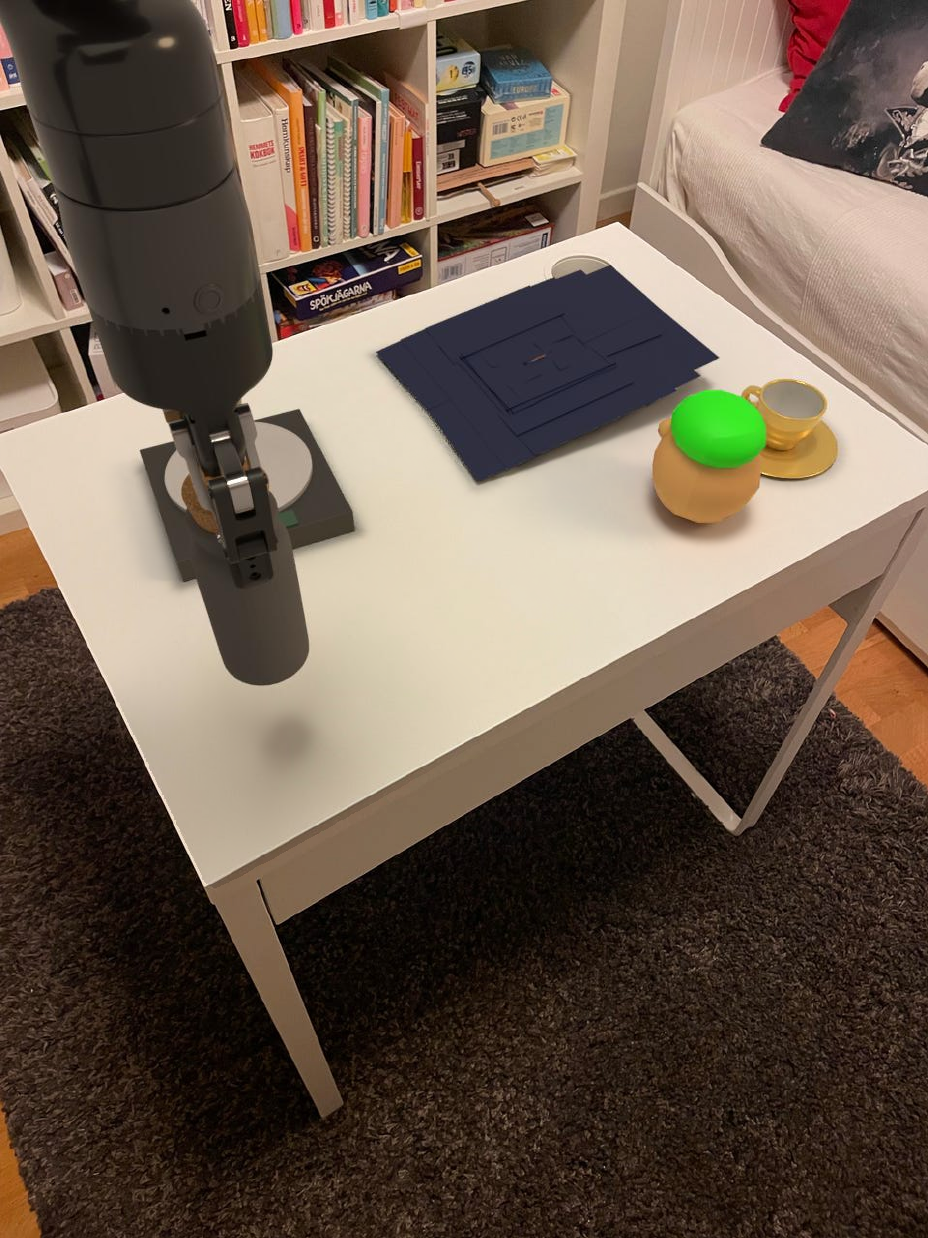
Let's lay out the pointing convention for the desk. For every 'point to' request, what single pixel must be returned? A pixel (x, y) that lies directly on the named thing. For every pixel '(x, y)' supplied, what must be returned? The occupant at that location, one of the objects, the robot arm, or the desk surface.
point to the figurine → (709, 456)
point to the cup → (793, 429)
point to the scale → (294, 481)
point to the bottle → (249, 601)
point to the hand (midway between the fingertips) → (239, 542)
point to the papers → (544, 366)
